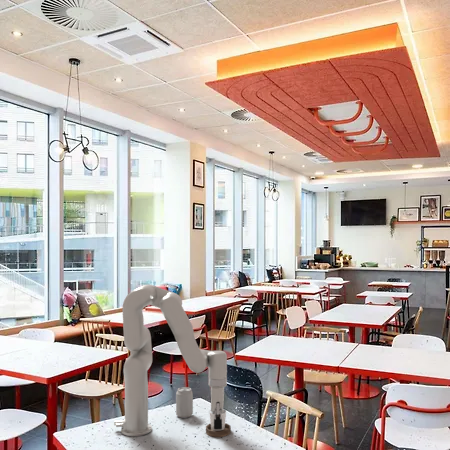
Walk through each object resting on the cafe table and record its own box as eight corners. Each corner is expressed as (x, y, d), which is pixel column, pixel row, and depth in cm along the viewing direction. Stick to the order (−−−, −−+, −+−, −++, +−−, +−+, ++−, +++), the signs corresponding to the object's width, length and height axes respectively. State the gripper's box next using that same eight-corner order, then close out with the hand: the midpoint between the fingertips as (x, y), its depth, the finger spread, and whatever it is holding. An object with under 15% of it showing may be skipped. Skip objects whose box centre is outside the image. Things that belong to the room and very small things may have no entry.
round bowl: (205, 437, 195) (205, 432, 195) (206, 427, 205) (206, 422, 205) (231, 436, 195) (231, 431, 195) (230, 427, 206) (230, 422, 206)
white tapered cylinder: (225, 424, 204) (225, 408, 204) (226, 431, 197) (226, 413, 197) (209, 425, 204) (209, 408, 204) (209, 431, 197) (209, 413, 197)
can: (173, 417, 217) (173, 390, 218) (179, 412, 224) (179, 385, 225) (189, 419, 215) (189, 391, 216) (194, 413, 223) (194, 387, 223)
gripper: (208, 376, 210) (208, 418, 209) (208, 387, 192) (208, 434, 192) (226, 375, 210) (226, 418, 209) (227, 387, 193) (227, 433, 192)
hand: (217, 425), depth 200 cm, fingers closed on white tapered cylinder, 6 cm apart
